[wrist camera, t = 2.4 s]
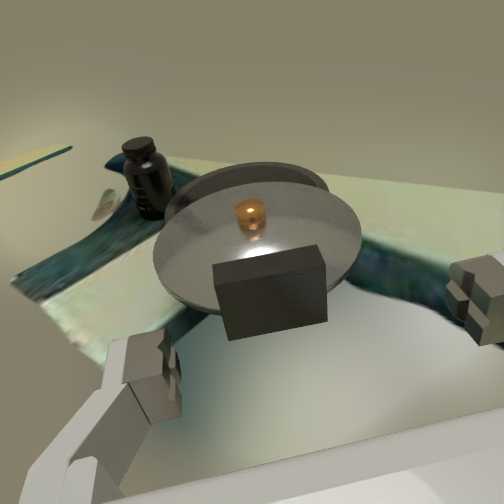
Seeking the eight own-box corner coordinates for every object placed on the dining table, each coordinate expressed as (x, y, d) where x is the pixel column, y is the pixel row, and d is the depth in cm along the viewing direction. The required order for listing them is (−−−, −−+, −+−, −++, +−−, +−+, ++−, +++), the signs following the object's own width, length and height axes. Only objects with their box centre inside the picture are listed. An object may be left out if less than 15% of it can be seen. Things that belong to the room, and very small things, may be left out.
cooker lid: (407, 305, 32) (415, 246, 29) (147, 357, 32) (121, 303, 28) (327, 176, 50) (325, 129, 47) (160, 207, 50) (145, 163, 46)
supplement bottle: (160, 195, 72) (139, 130, 65) (188, 203, 68) (169, 136, 61) (131, 215, 68) (105, 148, 61) (159, 225, 64) (135, 155, 57)
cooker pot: (352, 293, 47) (353, 230, 41) (182, 326, 47) (160, 267, 41) (309, 205, 63) (306, 151, 57) (182, 229, 62) (167, 177, 57)
